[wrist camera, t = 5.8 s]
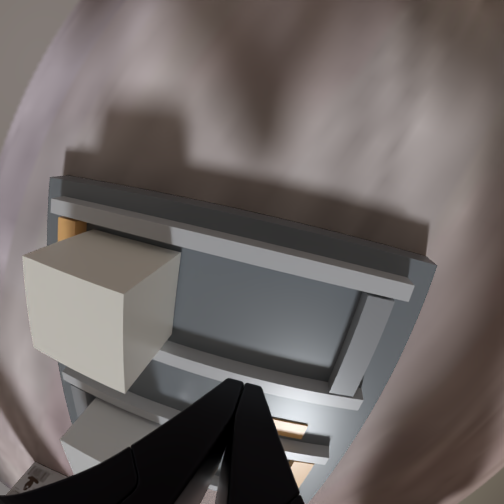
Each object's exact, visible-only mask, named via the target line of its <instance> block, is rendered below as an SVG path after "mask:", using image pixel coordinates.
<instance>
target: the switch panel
mask: <svg viewBox="0 0 504 504" xmlns="http://www.w3.org/2000/svg"><path fill="white" fill-rule="evenodd" d="M92 229H95V230H98V231H102V232H106V233H109V234H113V235H117V236H121V237H124V238H128V239H132V240H136V241H139V242H143V243H147V244H151V245H154V246H158V247H162V248H166V249H170V250H174V251H177V252H181V258H180V265H179V273H178V281H177V290H176V299H175V308H174V318H173V328H172V335H171V336H170V337H169V338H168V340H167V341H166V342H165V343H164V345H163V346H162V347H161V349H160V350H159V351H158V352H157V354H156V355H155V356H154V357H153V359H152V360H151V361H150V363H149V364H148V365H147V366H146V368H145V369H144V370H143V371H142V373H141V374H140V375H139V377H138V378H137V379H136V380H135V382H134V383H133V384H132V386H131V387H130V388H129V389H128V391H127V392H126V393H125V394H124V393H122V392H119V391H117V390H115V389H113V388H110V387H108V386H106V385H104V384H102V383H100V382H97V381H95V380H93V379H91V378H89V377H87V376H85V375H83V374H81V373H79V372H77V371H75V370H73V369H71V368H69V367H67V366H66V365H64V364H62V363H60V362H58V365H59V371H60V376H61V381H62V386H63V390H64V395H65V399H66V403H67V407H68V411H69V415H70V419H71V422H72V425H73V423H74V422H75V421H76V420H77V419H78V418H79V417H80V415H81V414H82V413H83V412H84V411H85V410H86V408H87V407H88V406H89V405H90V404H91V403H92V402H93V400H94V399H95V398H96V397H98V398H100V399H102V400H104V401H107V402H109V403H111V404H113V405H115V406H117V407H120V408H122V409H124V410H127V411H129V412H131V413H134V414H136V415H138V416H141V417H143V418H146V419H148V420H151V421H154V422H156V423H159V424H161V425H162V424H164V423H165V422H167V421H168V420H170V419H171V418H173V417H174V416H175V415H177V414H178V413H180V412H181V411H183V410H184V409H185V408H187V407H188V406H190V405H191V404H193V403H194V402H195V401H197V400H198V399H200V398H201V397H202V396H204V395H205V394H206V393H208V392H209V391H211V390H212V389H213V388H215V387H216V386H217V385H219V384H220V383H221V382H223V381H224V380H225V379H227V378H232V379H236V380H239V381H242V382H243V383H244V384H245V383H251V384H255V385H259V386H261V387H262V389H263V392H264V395H265V398H266V400H267V403H268V406H269V409H270V412H271V415H272V418H273V420H274V423H275V426H276V429H277V432H278V434H279V437H280V440H281V443H282V445H283V448H284V451H285V454H286V456H287V459H288V462H289V464H290V467H291V470H292V473H293V475H294V478H295V481H296V483H297V486H298V488H299V491H300V494H299V495H301V496H302V498H303V501H304V503H309V501H310V500H311V499H312V498H313V496H314V495H315V494H316V492H317V491H318V490H319V489H320V487H321V486H322V485H323V483H324V482H325V481H326V479H327V478H328V477H329V475H330V474H331V472H332V471H333V470H334V468H335V467H336V465H337V464H338V463H339V461H340V460H341V458H342V457H343V455H344V454H345V452H346V451H347V449H348V448H349V446H350V445H351V443H352V442H353V440H354V439H355V437H356V435H357V434H358V432H359V431H360V429H361V427H362V426H363V424H364V423H365V421H366V419H367V418H368V416H369V414H370V412H371V411H372V409H373V407H374V406H375V404H376V402H377V400H378V398H379V397H380V395H381V393H382V391H383V389H384V387H385V386H386V384H387V382H388V380H389V378H390V376H391V374H392V372H393V370H394V368H395V366H396V364H397V362H398V360H399V358H400V356H401V354H402V352H403V350H404V347H405V345H406V343H407V341H408V339H409V336H410V334H411V332H412V330H413V327H414V325H415V323H416V320H417V318H418V315H419V313H420V311H421V308H422V306H423V303H424V301H425V298H426V295H427V293H428V290H429V287H430V285H431V282H432V279H433V276H434V273H435V271H436V268H437V265H436V264H435V263H434V262H432V261H431V260H430V259H429V258H427V257H426V256H423V255H419V254H416V253H412V252H409V251H405V250H402V249H398V248H394V247H391V246H387V245H383V244H380V243H376V242H372V241H368V240H364V239H361V238H357V237H353V236H349V235H345V234H341V233H337V232H333V231H329V230H326V229H322V228H317V227H313V226H309V225H305V224H301V223H297V222H293V221H289V220H284V219H280V218H276V217H272V216H267V215H263V214H259V213H254V212H250V211H245V210H241V209H237V208H232V207H227V206H223V205H218V204H214V203H209V202H204V201H200V200H195V199H190V198H185V197H180V196H175V195H170V194H165V193H160V192H155V191H150V190H145V189H140V188H135V187H129V186H124V185H119V184H113V183H108V182H102V181H96V180H91V179H85V178H79V177H73V176H67V175H66V176H57V177H50V183H49V197H48V219H47V246H48V245H51V244H53V243H56V242H59V241H62V240H64V239H67V238H70V237H72V236H75V235H78V234H81V233H84V232H86V231H89V230H92ZM223 456H224V455H223ZM222 459H223V457H222ZM221 464H222V460H221V463H220V465H219V467H218V469H217V471H216V473H215V475H214V477H213V479H212V481H211V483H210V485H209V487H208V489H211V490H214V491H217V488H218V481H219V475H220V469H221Z"/></svg>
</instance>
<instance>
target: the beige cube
mask: <svg viewBox="0 0 504 504" xmlns="http://www.w3.org/2000/svg"><path fill="white" fill-rule="evenodd" d="M180 258H181V252H177V251H174V250H170V249H166V248H162V247H158V246H154V245H151V244H147V243H143V242H139V241H136V240H132V239H128V238H124V237H121V236H117V235H113V234H109V233H106V232H102V231H98V230H95V229H92V230H89V231H86V232H84V233H81V234H78V235H75V236H72V237H70V238H67V239H64V240H62V241H59V242H56V243H53V244H51V245H48V246H46V247H43V248H40V249H38V250H35V251H33V252H30V253H28V254H25V255H23V271H24V283H25V293H26V302H27V310H28V317H29V323H30V330H31V335H32V341H33V346H34V348H35V349H37V350H39V351H40V352H42V353H44V354H46V355H47V356H49V357H51V358H53V359H55V360H56V361H58V362H60V363H62V364H64V365H66V366H67V367H69V368H71V369H73V370H75V371H77V372H79V373H81V374H83V375H85V376H87V377H89V378H91V379H93V380H95V381H97V382H100V383H102V384H104V385H106V386H108V387H110V388H113V389H115V390H117V391H119V392H122V393H124V394H125V393H126V392H127V391H128V389H129V388H130V387H131V386H132V384H133V383H134V382H135V380H136V379H137V378H138V377H139V375H140V374H141V373H142V371H143V370H144V369H145V368H146V366H147V365H148V364H149V363H150V361H151V360H152V359H153V357H154V356H155V355H156V354H157V352H158V351H159V350H160V349H161V347H162V346H163V345H164V343H165V342H166V341H167V340H168V338H169V337H170V336H171V335H172V328H173V318H174V308H175V299H176V290H177V281H178V273H179V265H180Z"/></svg>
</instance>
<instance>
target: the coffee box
mask: <svg viewBox="0 0 504 504" xmlns="http://www.w3.org/2000/svg"><path fill="white" fill-rule="evenodd" d="M64 478H67V476H65V475H63V474H60V473H58V472H56V471H54V470H51V469H49V468H47V467H45V466H43V465H41V464H39V463H37V462H34V463H33V464H32V466H31V467H30V468H29V469H28V470H27V471H26V473H25V474H24V475H23V476H22V477H21V478H20V479H19V480H18V482H17V483H16V484H15V485H14V486H13V487H12V489H11V490H10V491H9V492H8V493H7V494H6V495H13V494H19V493H23V492H26V491H29V490H33V489H36V488H39V487H42V486H45V485H48V484H50V483H53V482H56V481H59V480H61V479H64Z"/></svg>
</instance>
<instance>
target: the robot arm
mask: <svg viewBox="0 0 504 504" xmlns="http://www.w3.org/2000/svg"><path fill="white" fill-rule="evenodd" d="M223 455H224V456H223ZM222 457H223V459H222ZM221 460H222V464H221V469H220V475H219V481H218V488H217V494H216V500H215V504H304V501H303V498H302V496H301V495H299V494H300V491H299V488H298V486H297V483H296V481H295V478H294V475H293V473H292V470H291V467H290V464H289V462H288V459H287V456H286V454H285V451H284V448H283V445H282V443H281V440H280V437H279V434H278V432H277V429H276V426H275V423H274V420H273V418H272V415H271V412H270V409H269V406H268V403H267V400H266V398H265V395H264V392H263V389H262V387H261V386H259V385H255V384H251V383H245V384H244V383H243V382H242V381H239V380H236V379H232V378H227V379H225V380H224V381H223V382H221V383H220V384H219V385H217V386H216V387H215V388H213V389H212V390H211V391H209V392H208V393H206V394H205V395H204V396H202V397H201V398H200V399H198V400H197V401H195V402H194V403H193V404H191V405H190V406H188V407H187V408H185V409H184V410H183V411H181V412H180V413H178V414H177V415H175V416H174V417H173V418H171V419H170V420H168V421H167V422H165V423H164V424H162V425H161V426H159V427H158V428H156V429H155V430H153V431H152V432H150V433H149V434H147V435H146V436H144V437H143V438H141V439H139V440H138V441H136V442H135V443H133V444H132V445H131V447H127V448H125V449H123V450H122V451H120V452H119V453H117V454H115V455H114V456H112V457H110V458H108V459H106V460H105V461H103V462H101V463H99V464H97V465H95V466H93V467H91V468H89V469H86V470H84V471H82V472H79V473H77V474H75V475H72V476H69V477H67V478H64V479H61V480H59V481H56V482H53V483H50V484H48V485H45V486H42V487H39V488H36V489H33V490H29V491H26V492H23V493H19V494H13V495H0V504H200V503H201V501H202V499H203V497H204V495H205V493H206V491H207V489H208V487H209V485H210V483H211V481H212V479H213V477H214V475H215V473H216V471H217V469H218V467H219V465H220V463H221Z"/></svg>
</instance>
